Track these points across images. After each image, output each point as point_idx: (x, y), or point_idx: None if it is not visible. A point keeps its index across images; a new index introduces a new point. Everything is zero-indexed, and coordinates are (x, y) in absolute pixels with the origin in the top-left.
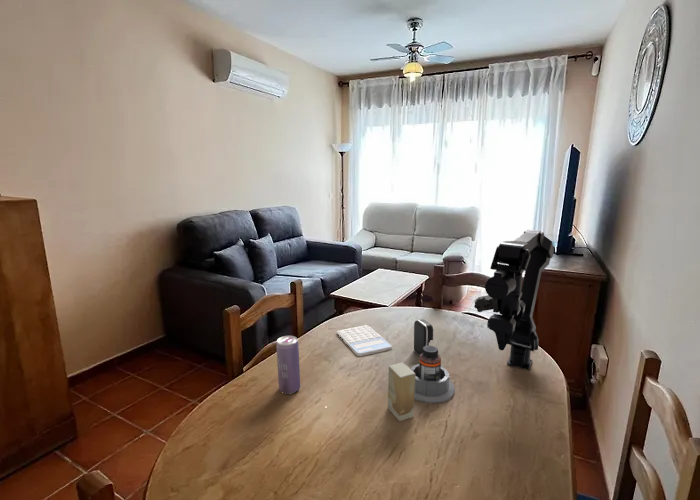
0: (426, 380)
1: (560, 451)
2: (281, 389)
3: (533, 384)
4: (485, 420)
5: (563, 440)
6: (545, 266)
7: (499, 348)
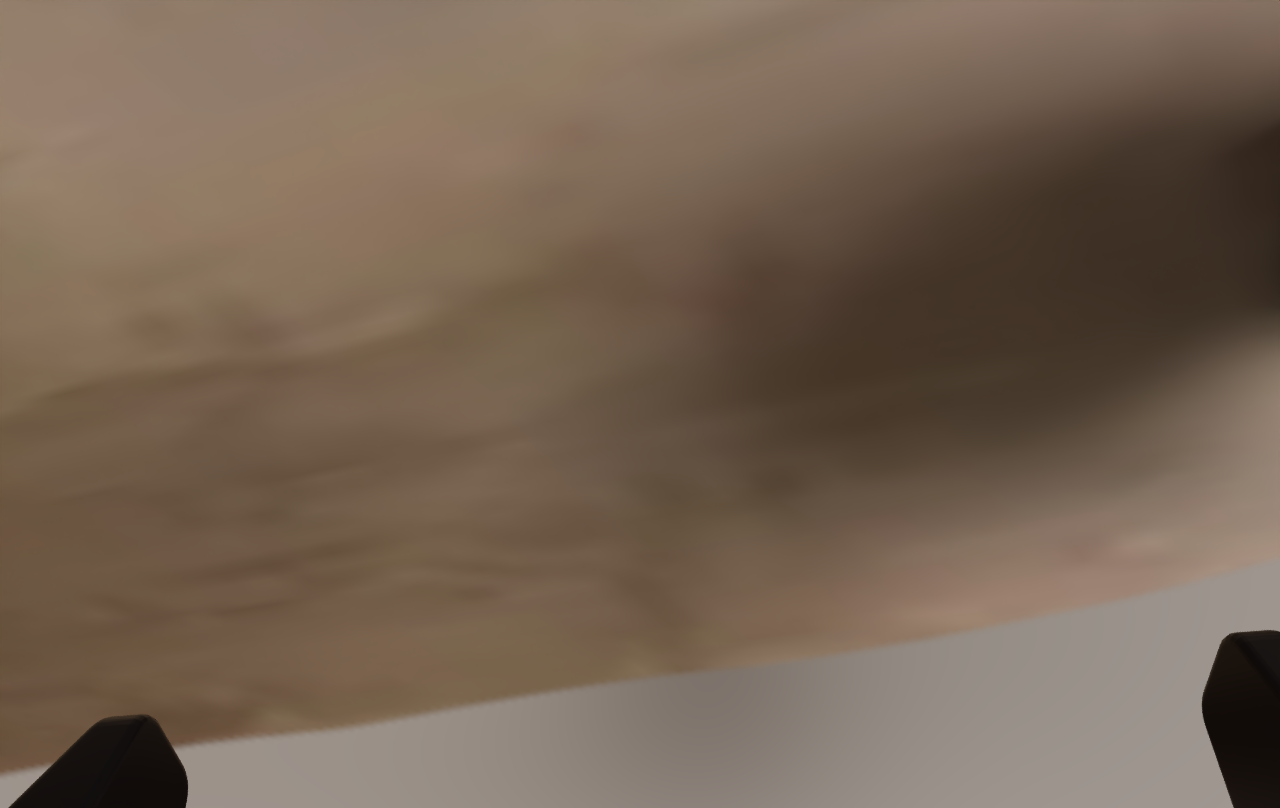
0: None
1: (3, 744)
2: None
3: (920, 421)
4: None
5: None
6: None
7: (81, 759)
